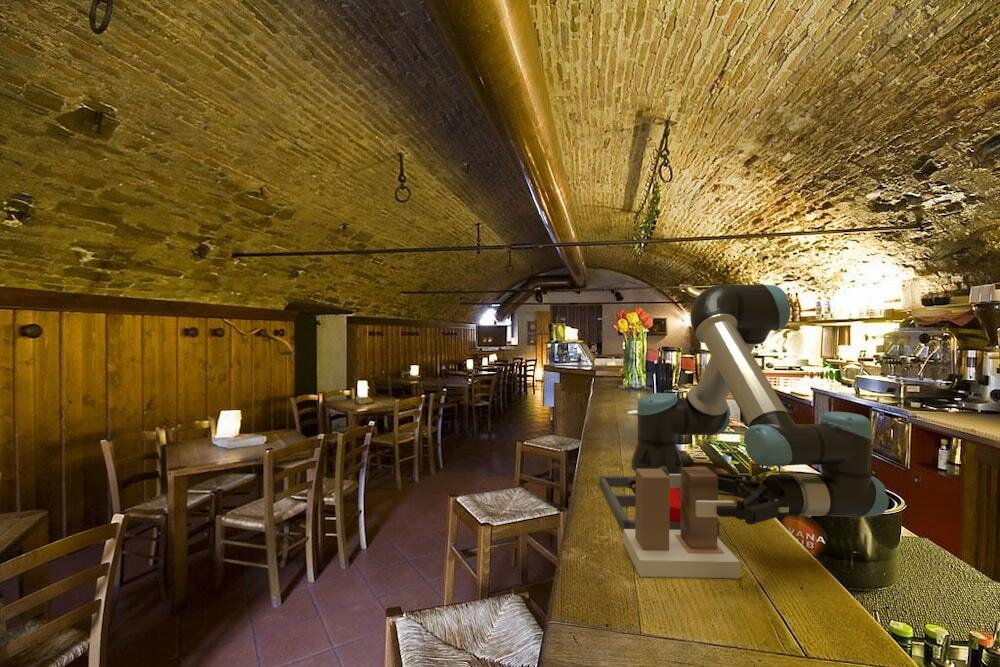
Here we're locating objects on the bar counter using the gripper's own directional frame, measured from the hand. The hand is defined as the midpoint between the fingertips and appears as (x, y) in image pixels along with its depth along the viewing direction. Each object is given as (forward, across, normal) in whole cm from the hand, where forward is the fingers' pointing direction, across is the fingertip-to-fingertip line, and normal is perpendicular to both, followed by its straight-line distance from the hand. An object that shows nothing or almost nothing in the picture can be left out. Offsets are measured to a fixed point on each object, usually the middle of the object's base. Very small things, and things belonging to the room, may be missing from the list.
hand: (681, 493), depth 85 cm
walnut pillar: (-3, 0, -10) cm, 10 cm away
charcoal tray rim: (-2, +24, -13) cm, 28 cm away
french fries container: (-2, +18, -13) cm, 22 cm away
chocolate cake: (-4, +33, -14) cm, 36 cm away
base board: (+1, 0, -13) cm, 13 cm away
